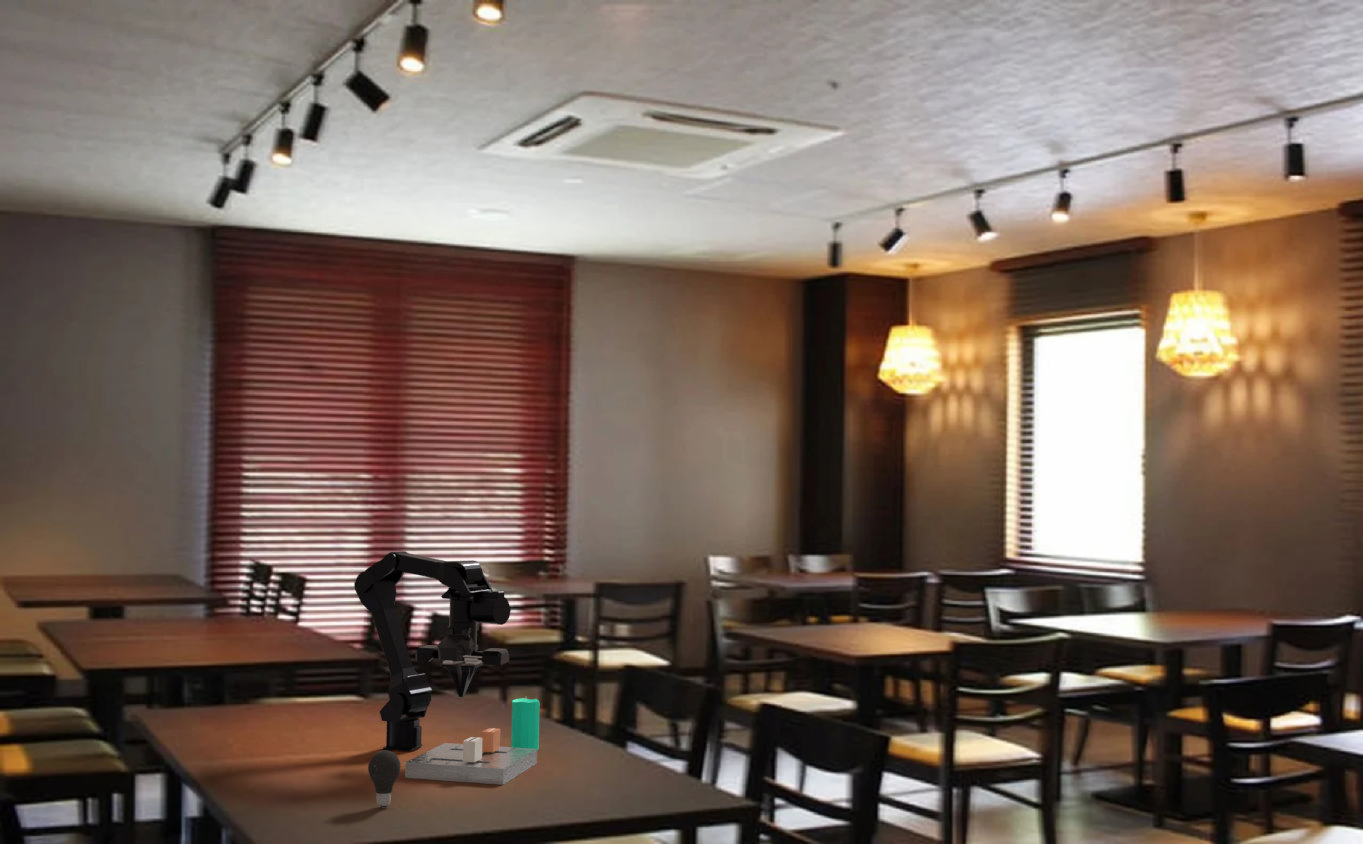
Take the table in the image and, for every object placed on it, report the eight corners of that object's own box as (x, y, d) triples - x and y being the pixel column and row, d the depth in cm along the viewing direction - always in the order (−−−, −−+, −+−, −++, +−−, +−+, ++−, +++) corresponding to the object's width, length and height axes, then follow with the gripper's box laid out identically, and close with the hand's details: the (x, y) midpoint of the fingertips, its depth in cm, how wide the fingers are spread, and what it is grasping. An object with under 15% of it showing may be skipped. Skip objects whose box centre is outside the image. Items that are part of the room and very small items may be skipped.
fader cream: (462, 776, 273) (463, 740, 273) (470, 771, 277) (470, 736, 277) (474, 776, 272) (475, 741, 272) (481, 772, 276) (482, 737, 276)
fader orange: (481, 765, 282) (482, 731, 283) (488, 761, 286) (489, 727, 287) (492, 766, 282) (493, 732, 282) (499, 762, 286) (500, 728, 286)
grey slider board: (405, 778, 273) (405, 761, 273) (444, 757, 292) (445, 742, 292) (503, 784, 268) (503, 768, 268) (536, 763, 288) (536, 748, 288)
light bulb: (369, 804, 251) (370, 747, 252) (401, 803, 252) (402, 747, 252) (365, 811, 246) (366, 753, 246) (397, 811, 246) (399, 754, 247)
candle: (534, 753, 298) (535, 696, 299) (506, 751, 300) (508, 694, 300) (542, 747, 304) (543, 691, 305) (515, 746, 306) (517, 690, 306)
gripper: (405, 623, 288) (403, 700, 287) (492, 627, 283) (490, 705, 283) (427, 618, 298) (425, 692, 298) (510, 621, 294) (509, 697, 294)
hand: (461, 697), depth 293 cm, fingers closed
